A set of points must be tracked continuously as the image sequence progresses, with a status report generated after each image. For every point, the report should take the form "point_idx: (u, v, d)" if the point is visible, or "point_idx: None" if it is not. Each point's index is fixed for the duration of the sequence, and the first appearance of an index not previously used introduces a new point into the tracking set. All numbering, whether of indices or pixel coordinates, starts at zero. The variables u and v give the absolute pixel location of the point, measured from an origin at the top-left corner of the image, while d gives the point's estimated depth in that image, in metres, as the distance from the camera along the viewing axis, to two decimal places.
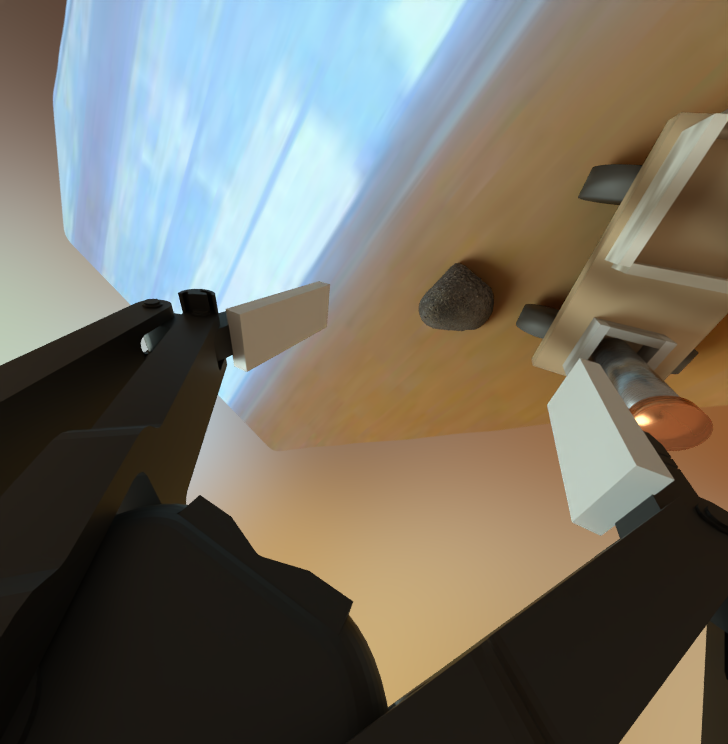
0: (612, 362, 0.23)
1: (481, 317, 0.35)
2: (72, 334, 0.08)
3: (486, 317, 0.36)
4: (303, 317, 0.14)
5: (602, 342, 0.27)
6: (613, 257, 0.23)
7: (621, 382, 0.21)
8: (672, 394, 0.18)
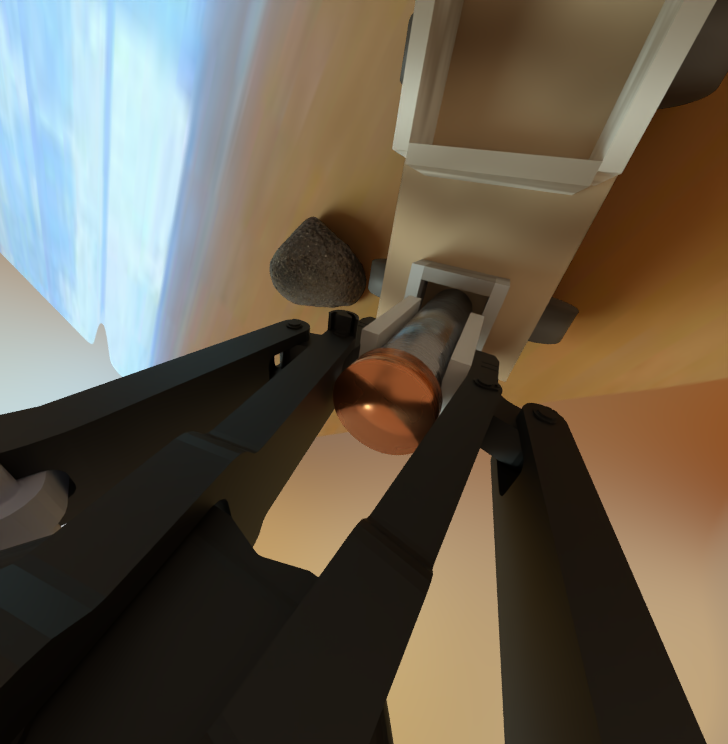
0: None
1: (342, 285, 0.27)
2: (222, 343, 0.09)
3: (355, 286, 0.28)
4: None
5: (435, 295, 0.18)
6: None
7: None
8: (410, 348, 0.09)
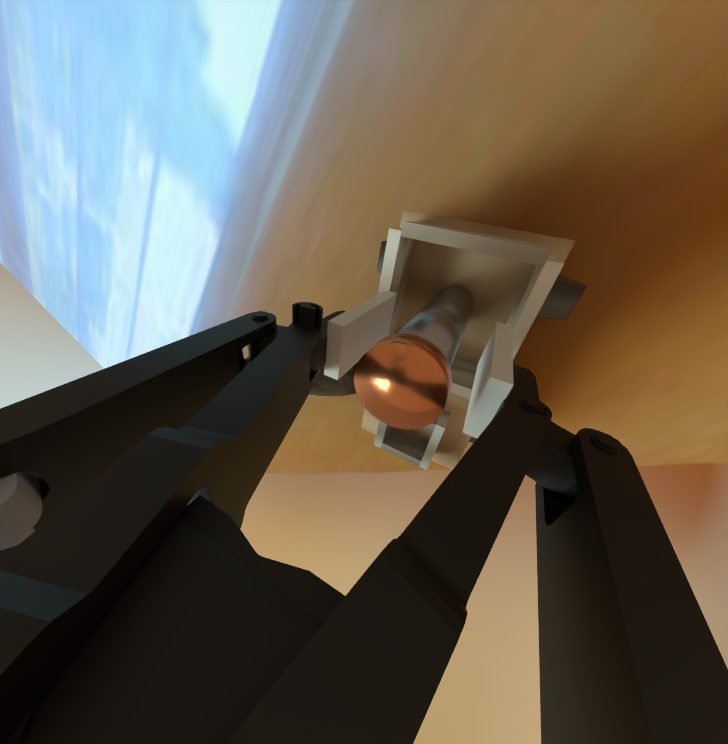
0: None
1: (350, 386, 0.35)
2: (188, 338, 0.09)
3: None
4: (377, 326, 0.14)
5: (439, 291, 0.20)
6: None
7: None
8: (422, 335, 0.11)
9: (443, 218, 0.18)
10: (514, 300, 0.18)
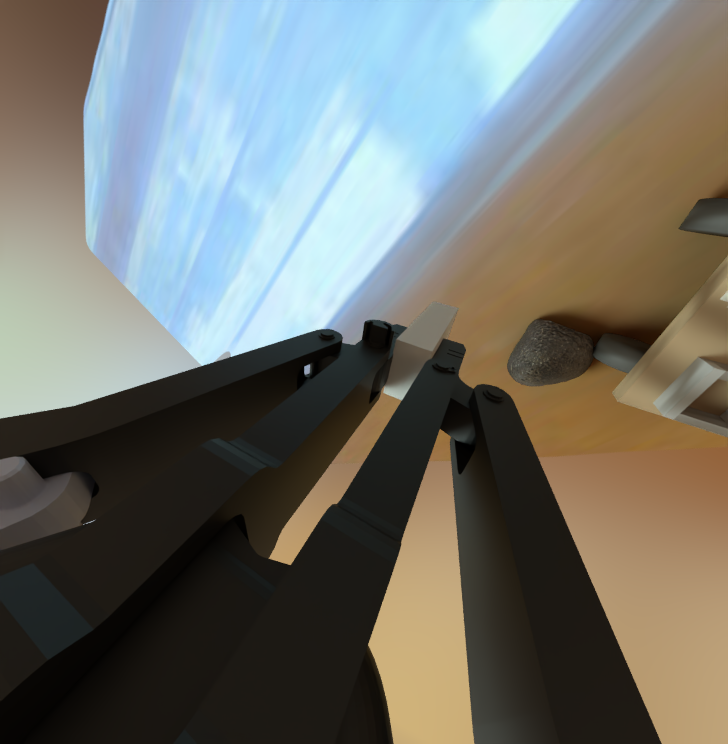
0: None
1: (586, 365, 0.33)
2: (253, 351, 0.09)
3: (591, 362, 0.34)
4: None
5: None
6: None
7: None
8: None
9: None
10: None
